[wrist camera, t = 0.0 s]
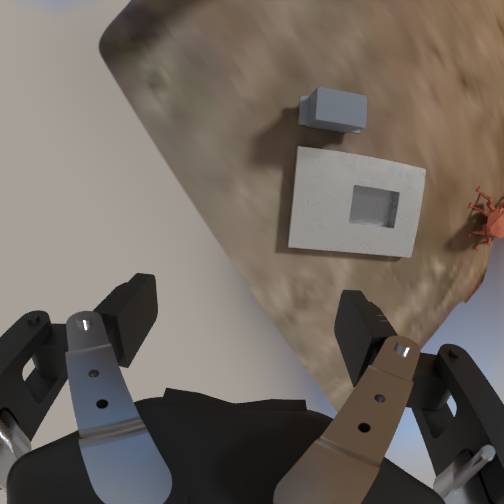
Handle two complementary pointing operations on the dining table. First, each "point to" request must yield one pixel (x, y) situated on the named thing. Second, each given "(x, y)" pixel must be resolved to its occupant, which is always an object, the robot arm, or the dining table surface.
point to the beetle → (491, 221)
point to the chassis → (354, 203)
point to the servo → (333, 110)
